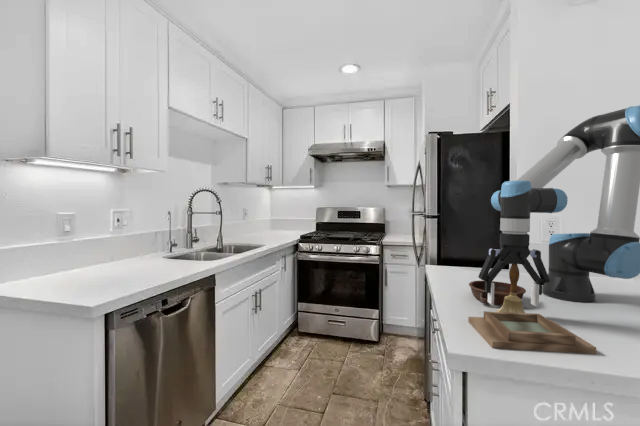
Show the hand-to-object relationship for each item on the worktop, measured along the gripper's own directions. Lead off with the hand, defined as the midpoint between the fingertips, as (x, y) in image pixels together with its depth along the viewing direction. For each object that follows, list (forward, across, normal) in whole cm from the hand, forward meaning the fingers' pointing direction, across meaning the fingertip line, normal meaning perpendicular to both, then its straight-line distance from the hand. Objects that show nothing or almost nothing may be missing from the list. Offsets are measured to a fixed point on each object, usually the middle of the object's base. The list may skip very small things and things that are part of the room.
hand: (512, 304), depth 93 cm
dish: (+4, -2, -16) cm, 17 cm away
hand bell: (+4, 0, 0) cm, 4 cm away
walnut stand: (+3, +4, +15) cm, 16 cm away
